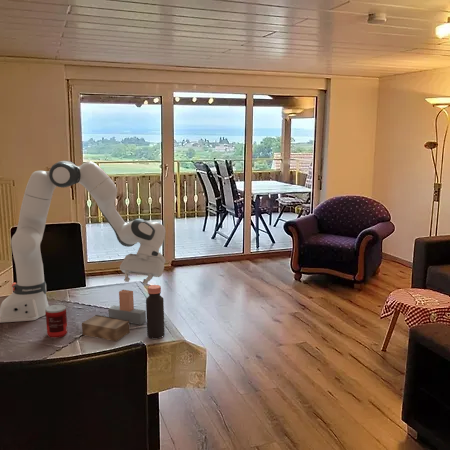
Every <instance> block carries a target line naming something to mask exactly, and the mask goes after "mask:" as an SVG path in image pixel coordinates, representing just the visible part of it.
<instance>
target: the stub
mask: <svg viewBox="0 0 450 450" xmlns="http://www.w3.org/2000/svg"><path fill="white" fill-rule="evenodd" d="M118 298H119V299H118V300H119V305H112V306H110V307H109V308H107V310H108V312H107V313H108V317H112V318H118V319H124V320H129V324H135V325H143V324H145V322H146V323H147V315H146V309H145V310H144V309H140V308H139V309H138V308H135V307H134V305H135V304H134V290H128V289H121V290H120V291H119V292H118Z"/></svg>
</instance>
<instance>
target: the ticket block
mask: <svg viewBox="0 0 450 450" xmlns="http://www.w3.org/2000/svg"><path fill="white" fill-rule="evenodd" d="M81 330H82V331H81V333H82V336H85V337H92V338H96V339H101V340H108V341H112V342H118V341H120V340H121V339H123V338H124V337H125V336H126V335H127V336H128V335H129V334H130V333H131V331H130V330H131V329H130V323H129V320H124V319H118V318H112V317H109V316H105V315H99V314H95V315H94V316H92V317H90V318H88V319H86V320H85V321H83V322H81Z"/></svg>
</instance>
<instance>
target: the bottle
mask: <svg viewBox="0 0 450 450" xmlns="http://www.w3.org/2000/svg"><path fill="white" fill-rule="evenodd" d="M161 292H162V288H161V285H159V284H152V285H149V286H147V293H148V297H146V299H145V310H146V335H147V337H148V338H149V339H152V338H157V339H160V338H159V337H161V338H163V337H164V336H165V332H166V331H165V310H164V309H165V307H164V305H165V304H164V302H165V301H164V297H162V295H161ZM162 336H163V337H162Z"/></svg>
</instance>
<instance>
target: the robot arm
mask: <svg viewBox="0 0 450 450" xmlns="http://www.w3.org/2000/svg"><path fill="white" fill-rule="evenodd" d="M76 184H80V185H81V186H83V188H85V190H86V191H87V193H89V194H90V195H91V197H92V198H93V200H94V201H95V203H96V205H97V208H98V209H99V211H100V213H101V214H102V216H103V217H104V218H105V220H106V222H108V225H109V226H110V227H111V228H112V230H113V232H114V234H115V237H116V239H117V241H118V242H119V244H121V245H122V246H123V247H126V248H129V247H132V246H135V245H136V244H137V243H139V244H140V245H139V247H138V250H137V252H136V253H129V254H126V255H125V257H124V258H123V260H122V262H121V263H120V265H119V270H120V271H121V272H122V273H123V274H124V276H125V277H124V279H123V282H125V283H129V282H130V280H131V279H130V277H129V276H130V275H138V276H146V278H143V280H142V284H143V285H146V286H147V285H148V284H149V282H150V281H151V280H152V279H153V277H155V278H160V277H161V276H162V274H163V272H164V270H165V264H166V261H167V260H166V259H165V257H164V256H163V254H162V253H161V252H160V248H161V247H162V245H163V243H164V241H165V237H166V227H165V226H164V225H163V224H162V223H160V222H158V221H147V220H145V219H143V218H136V219H134V220H131V221H130V222H128V223H127V222H125V220H124V219H123V217H122V216H121V214H120V213H119V212H118V210H117V209H116V205H115V204H116V198H117V196H118V187H117V186H116V184H115V182H114V181H113V180H112V178H111V177H110V176H109V175H108V174H107V173H106V172H105V171H104V170H103V168H101V167H100V166H99V165H98V164H97V163H96V162H94V161H90V160H89V161H86V162H84V163H82V164H81V165H77V164H76V163H75V162H73V161H71V160H60V161H57V162H56V163H54V164H52V166H51V167H50V168H49V170H48V171H46V170H35V171H33V172H31V174H30V177H29V178H28V181H27V184H26V187H25V189H24V190H25V191H24V192H23V193H24V194H23V197H22V201H21V206H20V208H19V209H20V210H19V215H18V216H19V217H18V224H17V228H16V231H15V233H14V234H13V235H12V237H11V239H10V240H11V241H10V245H11V250H12V255H13V261H14V264H15V272H16V282H12V283H11V288H12V293H11V294H9V295H8V296H7V297H6V298H5V299H4V300H2V302H1V304H0V323H11V322H26V321H29V322H30V321H36V320H38V319H40V318H41V317H45V316H46V312H45V309H46V308H47V307H48V306H50V304H49V302H48V298H47V297H48V296H47V283H46V280H45V274H44V273H45V272H44V263H43V258H42V257H43V256H42V253H41V244H42V240H43V237H44V232H45V229H46V223H47V219H48V214H49V210H50V206H51V202H52V199H53V195H54V191H55V190H56V188H57V187H58V188H68V187H71V186H75V185H76Z"/></svg>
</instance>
